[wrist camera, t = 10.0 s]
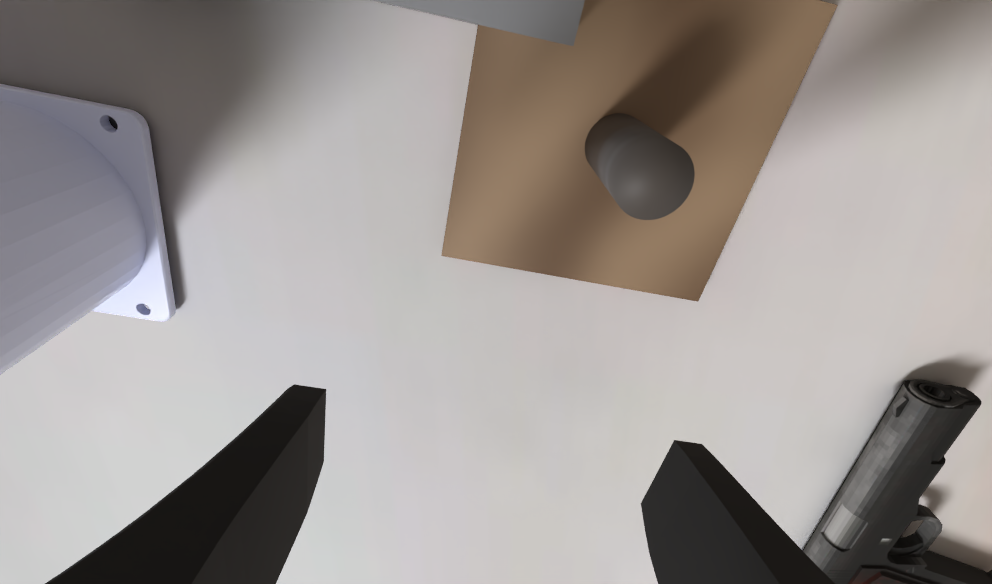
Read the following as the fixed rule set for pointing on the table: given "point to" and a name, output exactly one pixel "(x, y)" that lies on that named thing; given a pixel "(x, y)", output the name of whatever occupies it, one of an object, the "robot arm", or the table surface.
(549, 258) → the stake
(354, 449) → the table surface
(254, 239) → the table surface
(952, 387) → the handgun
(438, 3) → the tray
